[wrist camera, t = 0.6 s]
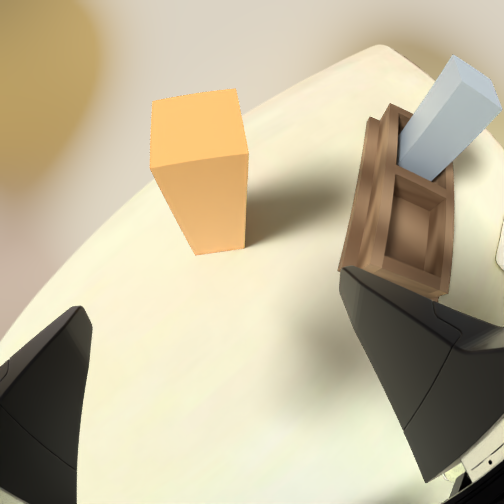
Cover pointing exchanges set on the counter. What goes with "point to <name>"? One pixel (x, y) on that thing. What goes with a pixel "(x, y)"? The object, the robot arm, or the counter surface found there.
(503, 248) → the cable organizer
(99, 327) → the counter surface
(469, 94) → the grey plug
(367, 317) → the robot arm
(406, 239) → the brown wooden tray
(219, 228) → the orange plug
